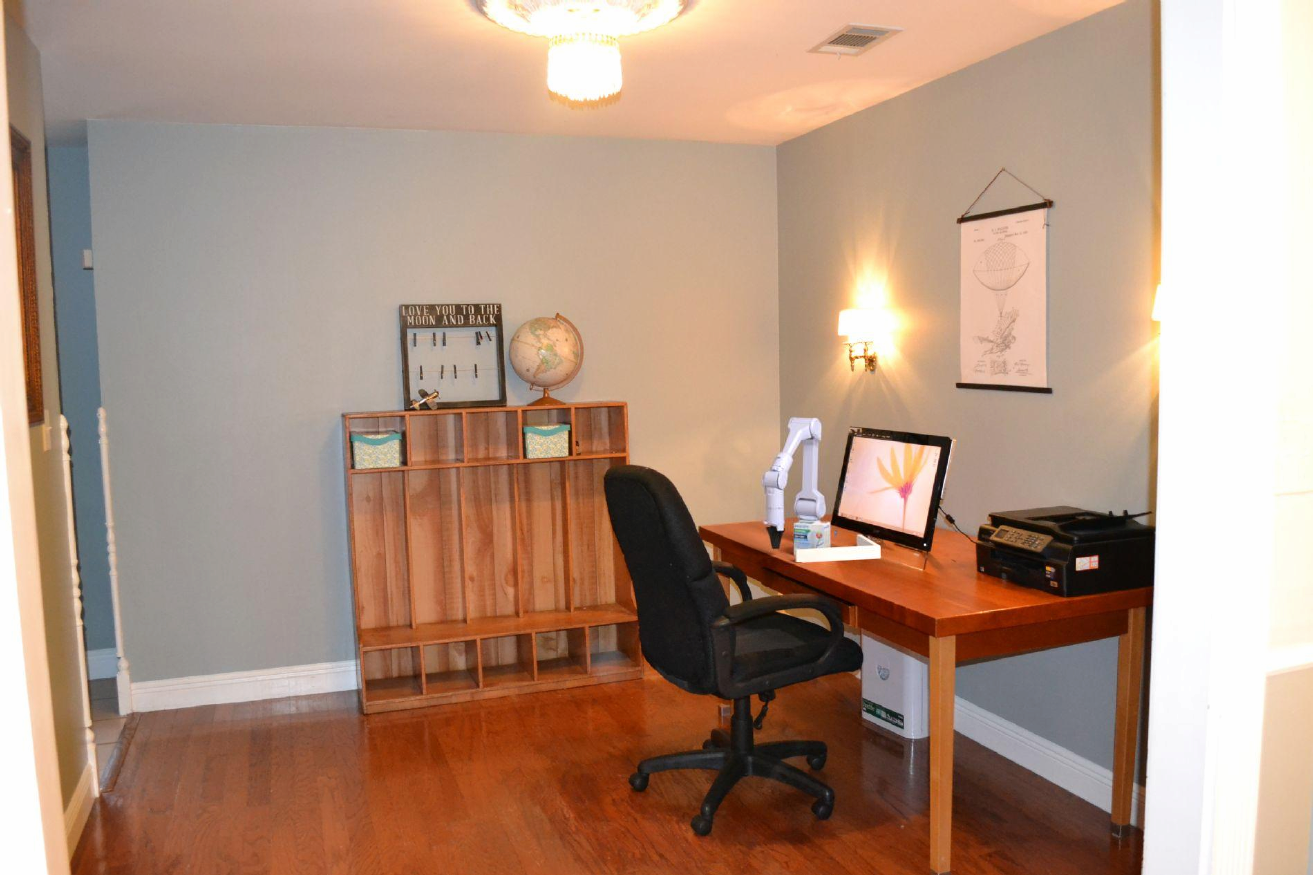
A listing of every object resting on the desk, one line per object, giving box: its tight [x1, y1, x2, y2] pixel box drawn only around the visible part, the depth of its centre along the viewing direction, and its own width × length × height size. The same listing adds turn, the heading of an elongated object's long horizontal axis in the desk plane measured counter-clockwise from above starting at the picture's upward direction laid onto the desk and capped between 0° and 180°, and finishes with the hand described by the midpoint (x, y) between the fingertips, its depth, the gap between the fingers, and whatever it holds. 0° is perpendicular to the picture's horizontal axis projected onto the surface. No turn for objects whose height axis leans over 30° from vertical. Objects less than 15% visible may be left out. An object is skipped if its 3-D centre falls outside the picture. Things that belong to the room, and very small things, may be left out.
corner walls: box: [794, 534, 882, 563], centre depth 331 cm, size 20×28×4 cm
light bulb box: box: [793, 520, 831, 556], centre depth 330 cm, size 11×7×11 cm, turn 62°
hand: (775, 548), depth 330 cm, fingers closed
